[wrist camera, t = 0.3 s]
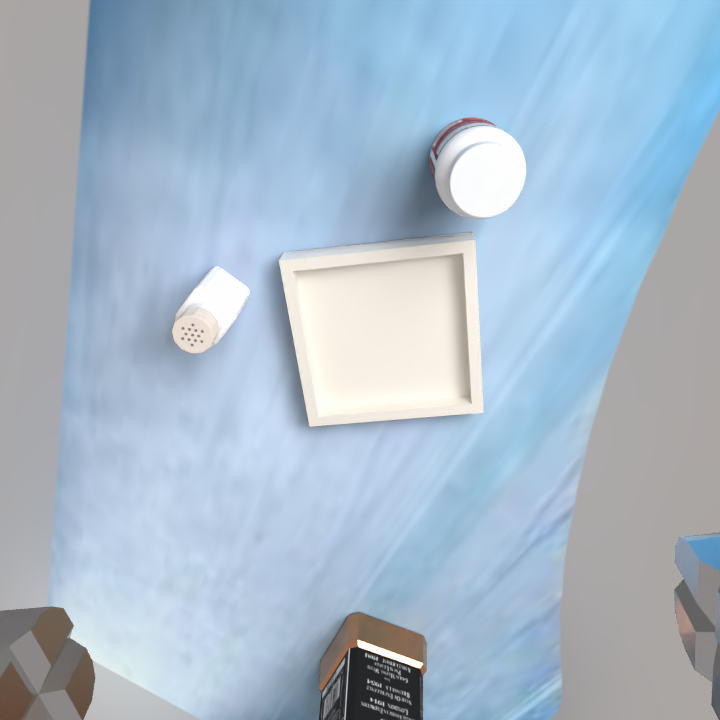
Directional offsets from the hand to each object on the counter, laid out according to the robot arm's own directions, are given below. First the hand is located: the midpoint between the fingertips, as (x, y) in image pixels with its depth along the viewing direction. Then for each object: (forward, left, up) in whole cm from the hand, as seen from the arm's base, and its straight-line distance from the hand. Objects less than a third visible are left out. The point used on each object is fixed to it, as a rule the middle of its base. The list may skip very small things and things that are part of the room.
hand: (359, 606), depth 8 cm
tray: (+16, -2, -47) cm, 49 cm away
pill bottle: (+2, +6, -47) cm, 47 cm away
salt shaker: (+11, -16, -47) cm, 51 cm away
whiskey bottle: (+57, -8, -47) cm, 74 cm away
